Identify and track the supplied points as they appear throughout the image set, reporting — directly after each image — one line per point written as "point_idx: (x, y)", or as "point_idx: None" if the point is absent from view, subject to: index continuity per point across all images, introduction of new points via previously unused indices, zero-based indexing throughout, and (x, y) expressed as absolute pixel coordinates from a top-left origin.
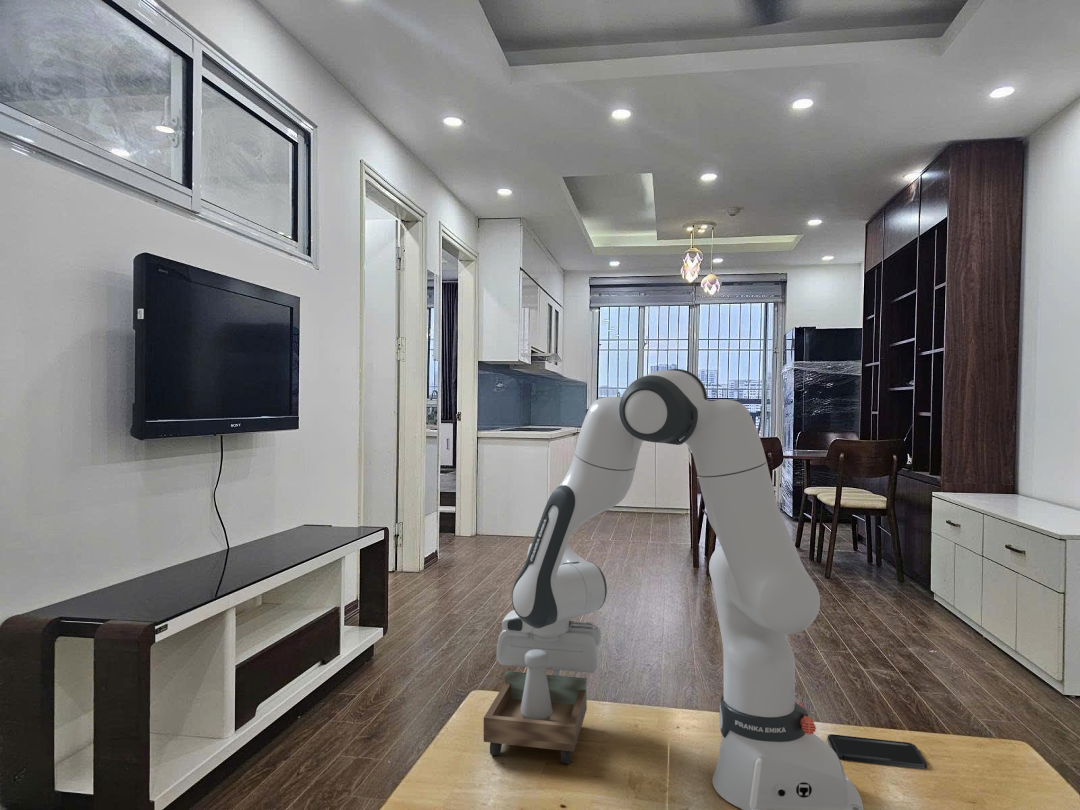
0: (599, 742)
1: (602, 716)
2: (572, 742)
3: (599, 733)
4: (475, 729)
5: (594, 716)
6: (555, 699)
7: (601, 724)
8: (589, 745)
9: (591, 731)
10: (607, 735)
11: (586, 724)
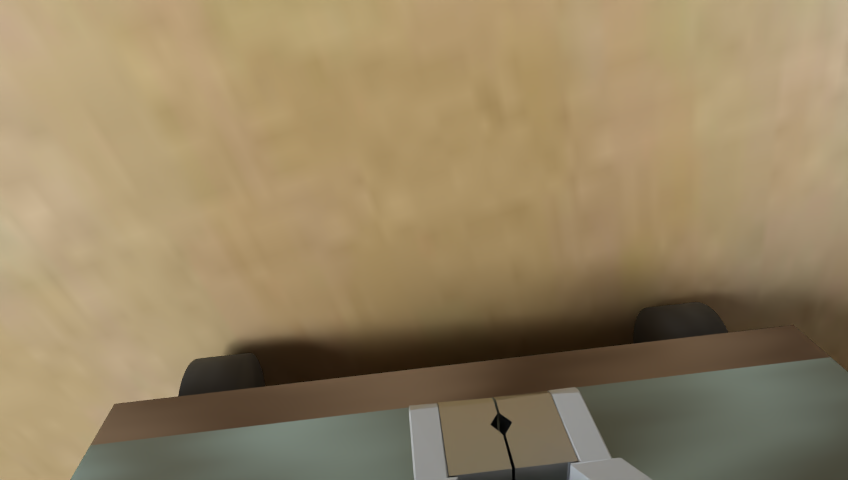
0: None
1: (844, 85)
2: None
3: (789, 308)
4: (71, 476)
5: (782, 104)
6: None
7: (817, 204)
8: None
9: (743, 302)
10: (833, 314)
11: (716, 234)
